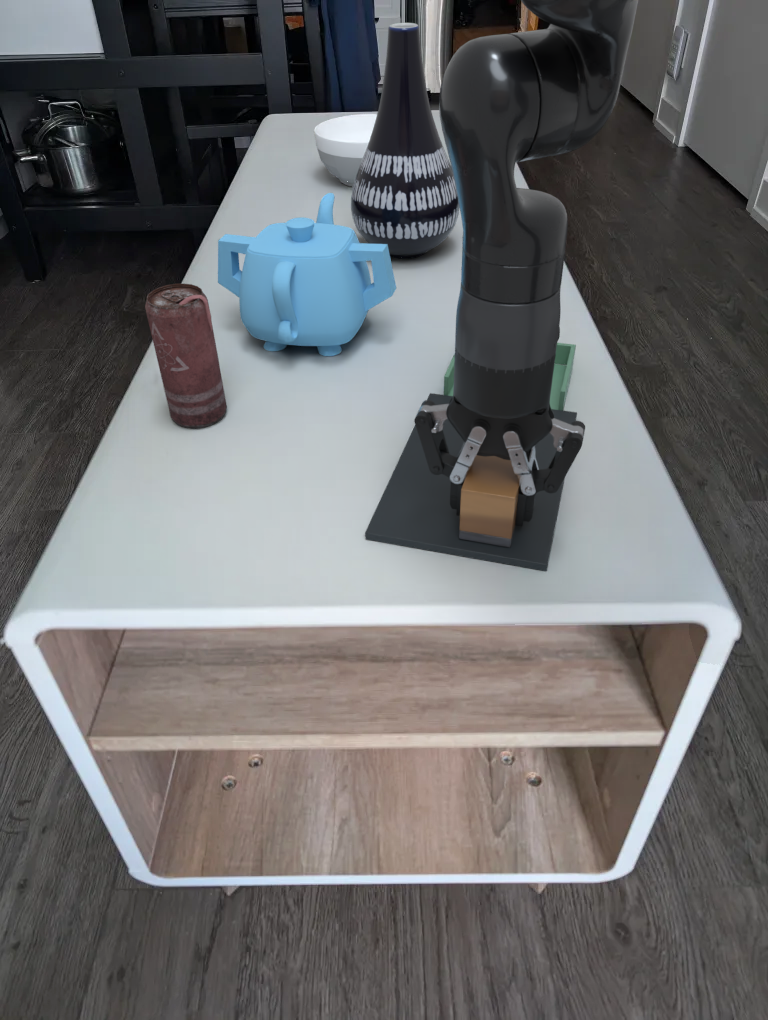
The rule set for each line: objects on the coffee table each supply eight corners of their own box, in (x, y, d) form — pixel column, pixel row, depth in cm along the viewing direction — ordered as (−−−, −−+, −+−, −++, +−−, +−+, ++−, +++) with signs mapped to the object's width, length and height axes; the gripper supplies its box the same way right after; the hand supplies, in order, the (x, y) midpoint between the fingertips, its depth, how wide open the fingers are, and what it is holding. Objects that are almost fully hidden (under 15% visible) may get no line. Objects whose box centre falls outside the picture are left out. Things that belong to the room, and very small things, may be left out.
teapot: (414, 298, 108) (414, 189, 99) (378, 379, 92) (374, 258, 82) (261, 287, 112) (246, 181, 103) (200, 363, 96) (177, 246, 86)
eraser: (510, 548, 68) (515, 498, 64) (458, 539, 69) (460, 489, 65) (521, 504, 72) (526, 455, 69) (472, 497, 73) (475, 448, 70)
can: (225, 429, 85) (202, 307, 76) (165, 430, 85) (136, 308, 76) (233, 398, 89) (213, 280, 80) (177, 400, 89) (150, 281, 80)
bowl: (307, 169, 152) (303, 120, 146) (401, 158, 156) (400, 109, 150) (332, 201, 138) (328, 147, 133) (434, 187, 142) (435, 135, 137)
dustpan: (562, 415, 85) (565, 391, 83) (443, 399, 88) (444, 376, 86) (580, 332, 99) (583, 310, 97) (477, 321, 102) (478, 300, 100)
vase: (477, 242, 122) (488, 19, 103) (423, 280, 112) (424, 41, 93) (390, 223, 129) (386, 11, 110) (332, 257, 119) (316, 30, 100)
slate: (546, 571, 67) (547, 564, 66) (365, 539, 71) (364, 532, 70) (576, 418, 84) (577, 411, 84) (429, 399, 88) (429, 392, 88)
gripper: (399, 353, 58) (401, 528, 69) (599, 378, 55) (568, 558, 66) (425, 308, 64) (423, 477, 75) (608, 328, 60) (578, 502, 71)
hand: (491, 514), depth 70 cm, fingers closed on eraser, 4 cm apart
